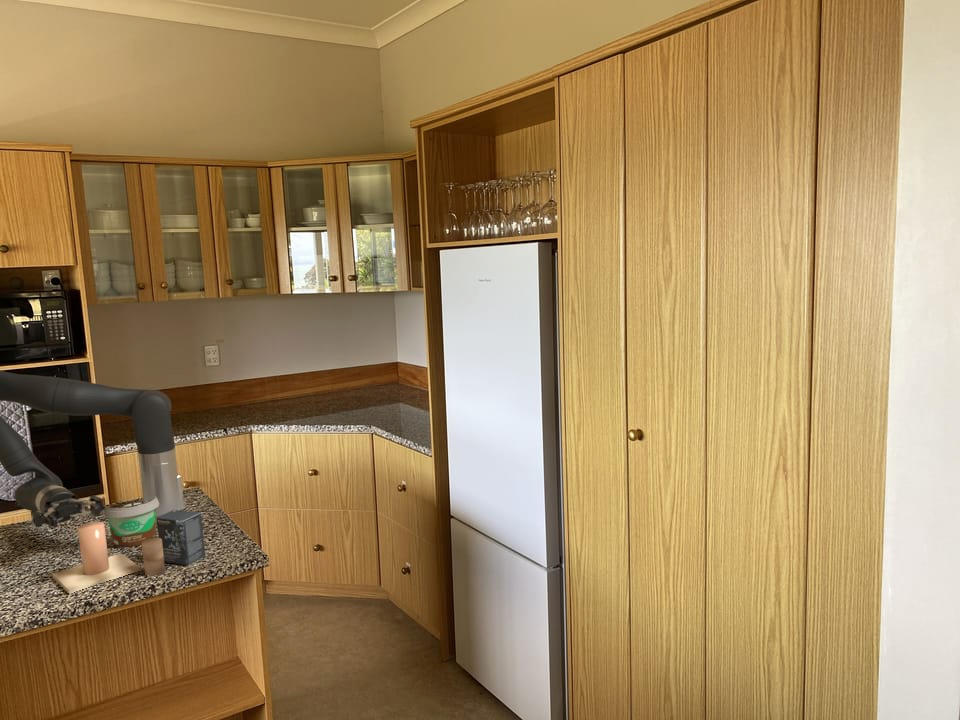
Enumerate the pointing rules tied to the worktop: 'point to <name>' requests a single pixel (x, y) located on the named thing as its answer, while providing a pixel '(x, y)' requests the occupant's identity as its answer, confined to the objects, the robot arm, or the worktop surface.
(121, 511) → the food container
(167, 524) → the box
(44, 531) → the worktop surface
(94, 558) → the salmon orange cylinder
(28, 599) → the worktop surface
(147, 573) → the walnut cylinder
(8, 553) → the worktop surface
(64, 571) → the birch board
